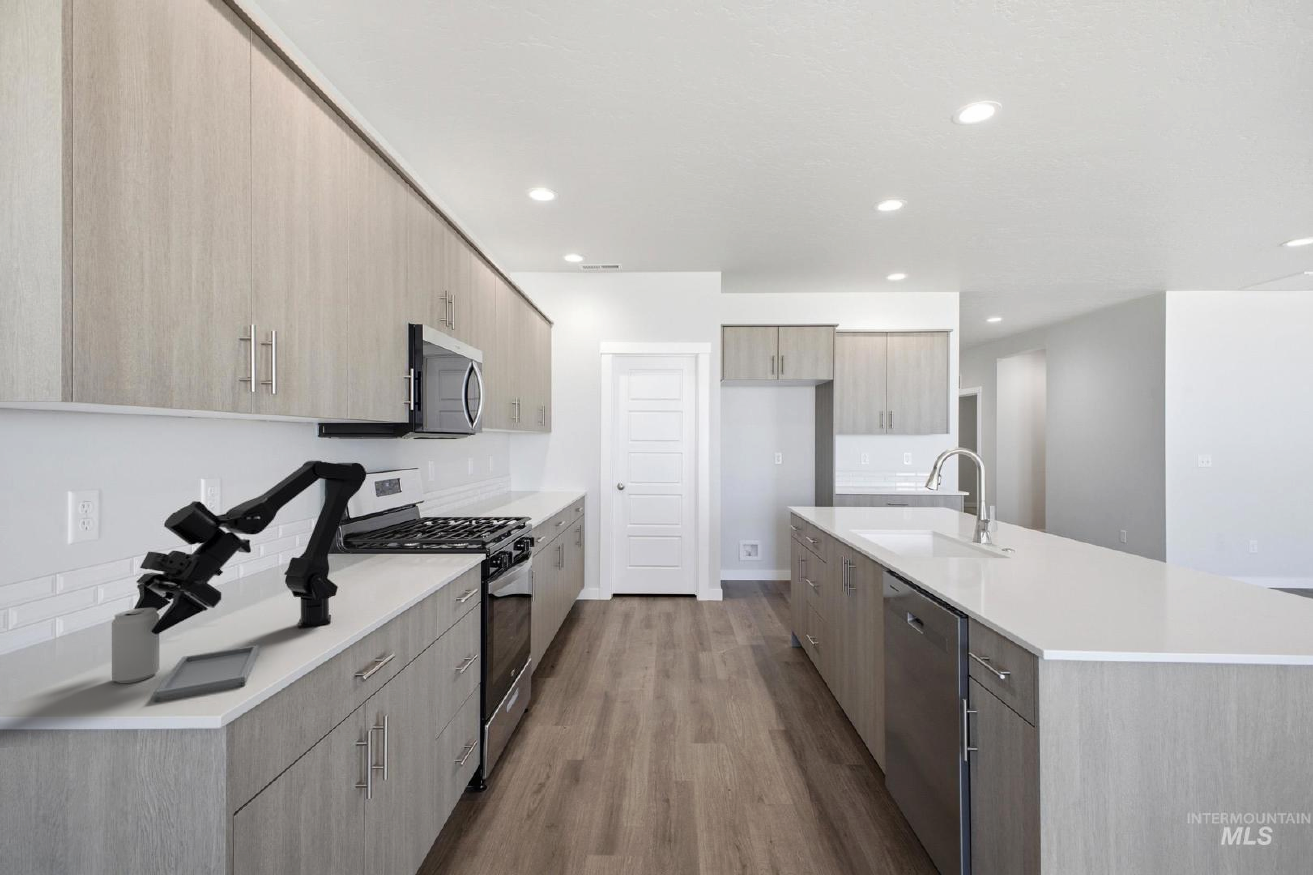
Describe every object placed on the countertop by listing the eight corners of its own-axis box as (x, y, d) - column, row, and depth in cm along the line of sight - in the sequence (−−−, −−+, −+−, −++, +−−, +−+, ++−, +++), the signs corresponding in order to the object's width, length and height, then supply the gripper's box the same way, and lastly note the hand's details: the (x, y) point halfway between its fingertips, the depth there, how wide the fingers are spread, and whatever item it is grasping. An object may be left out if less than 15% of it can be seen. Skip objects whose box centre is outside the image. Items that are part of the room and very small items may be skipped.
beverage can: (102, 687, 98) (102, 618, 98) (126, 672, 105) (126, 608, 105) (146, 682, 100) (146, 614, 100) (167, 668, 106) (166, 605, 106)
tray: (182, 665, 108) (182, 656, 108) (258, 652, 114) (258, 645, 114) (154, 702, 92) (154, 692, 92) (244, 685, 98) (244, 676, 98)
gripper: (149, 531, 112) (73, 601, 102) (203, 536, 104) (127, 612, 94) (195, 563, 119) (128, 632, 109) (248, 570, 111) (182, 645, 101)
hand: (140, 630), depth 103 cm, fingers open, 9 cm apart
